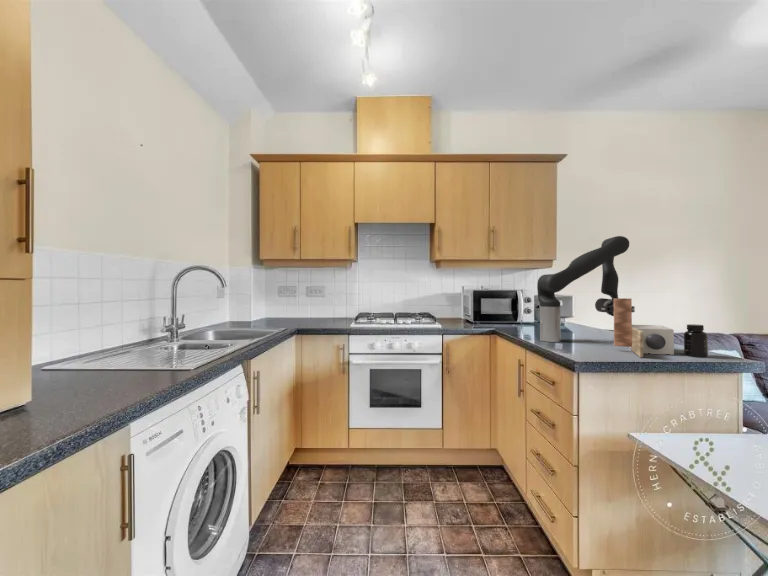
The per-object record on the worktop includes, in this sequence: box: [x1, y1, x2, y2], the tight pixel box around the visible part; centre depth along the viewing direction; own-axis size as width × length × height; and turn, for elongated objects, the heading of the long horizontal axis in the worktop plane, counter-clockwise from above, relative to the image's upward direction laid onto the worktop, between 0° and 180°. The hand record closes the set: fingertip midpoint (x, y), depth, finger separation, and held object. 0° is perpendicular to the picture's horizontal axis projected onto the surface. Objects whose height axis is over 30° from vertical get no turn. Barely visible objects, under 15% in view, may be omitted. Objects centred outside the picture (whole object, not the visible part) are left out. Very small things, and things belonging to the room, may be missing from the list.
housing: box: [628, 324, 675, 356], centre depth 142 cm, size 12×16×10 cm
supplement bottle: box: [683, 324, 709, 358], centre depth 132 cm, size 7×7×12 cm
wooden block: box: [613, 297, 644, 358], centre depth 137 cm, size 7×14×22 cm, turn 156°
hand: (622, 310), depth 143 cm, fingers closed
